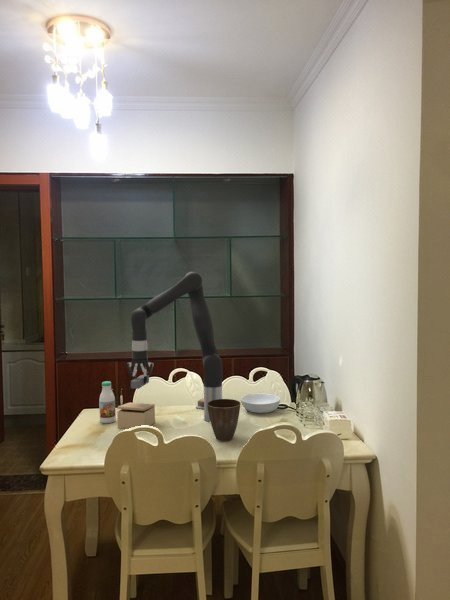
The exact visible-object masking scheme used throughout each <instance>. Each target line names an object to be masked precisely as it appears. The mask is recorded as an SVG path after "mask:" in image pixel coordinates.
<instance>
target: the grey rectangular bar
mask: <svg viewBox="0 0 450 600" xmlns="http://www.w3.org/2000/svg"><path fill="white" fill-rule="evenodd" d="M147 380H148V381H147V383H146V384H144V374H141V375H139V376H138V377H137V376H136V378H135V379H134V380H133V379H132V380H130V389H136V390H137V389H140V388H143V387H144V386H145V385H147V384H148V383H150V375H148V376H147Z"/></svg>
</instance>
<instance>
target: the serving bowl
mask: <svg viewBox="0 0 450 600" xmlns="http://www.w3.org/2000/svg"><path fill="white" fill-rule="evenodd" d="M240 403H241V406H242V407H243V408H244V409H245V410H246V411H248V412H252V413H254V414H255V413H256V414H266V413H271V412H274V411H275V410H276V409H277V408H278V407H279V406H280V403H281V398H280V397H279V395H277V394H272V393H263V392H262V393H261V392H256V393H255V392H253V393H247V394H245V395H242V396H241V398H240Z"/></svg>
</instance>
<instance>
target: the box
mask: <svg viewBox="0 0 450 600" xmlns="http://www.w3.org/2000/svg"><path fill="white" fill-rule="evenodd" d="M155 406H156V405H155ZM155 406H154V407H152V408H149V409H147V410H145V411H141V410H127V409H118V410H117V411H116V412H117V413H116V415H117V428H119V429H127V428H131V427H135V426H141V425H151V426H152V425H153V424H154V423H156V411H155V410H156V409H155ZM127 430H128V429H127Z"/></svg>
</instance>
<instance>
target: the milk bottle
mask: <svg viewBox="0 0 450 600" xmlns="http://www.w3.org/2000/svg"><path fill="white" fill-rule="evenodd" d="M101 387H102V388H101V393H100V394H99V400H98V401H99V402H98V405H99V409H98V410H99V422H100V423H101V424H111V423H114V422H116V415H117V413H116V398H115V394H114V392H113V390H112V382H111V381H110V380H109V381H108V380H106V381H102V382H101Z"/></svg>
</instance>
